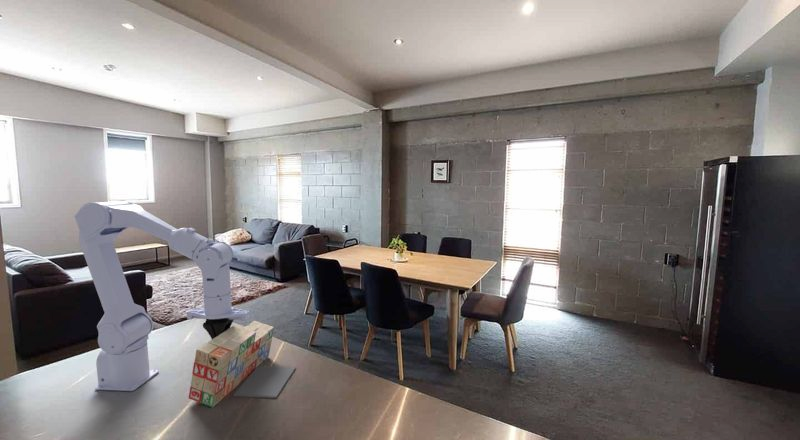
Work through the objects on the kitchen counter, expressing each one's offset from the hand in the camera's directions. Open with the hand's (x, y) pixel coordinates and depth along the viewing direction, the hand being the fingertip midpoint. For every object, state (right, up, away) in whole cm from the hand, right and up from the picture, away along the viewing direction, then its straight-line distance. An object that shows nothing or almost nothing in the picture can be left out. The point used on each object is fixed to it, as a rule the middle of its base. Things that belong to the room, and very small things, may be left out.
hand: (220, 347), depth 79 cm
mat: (+11, -9, 0) cm, 14 cm away
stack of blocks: (+2, -8, +2) cm, 8 cm away
